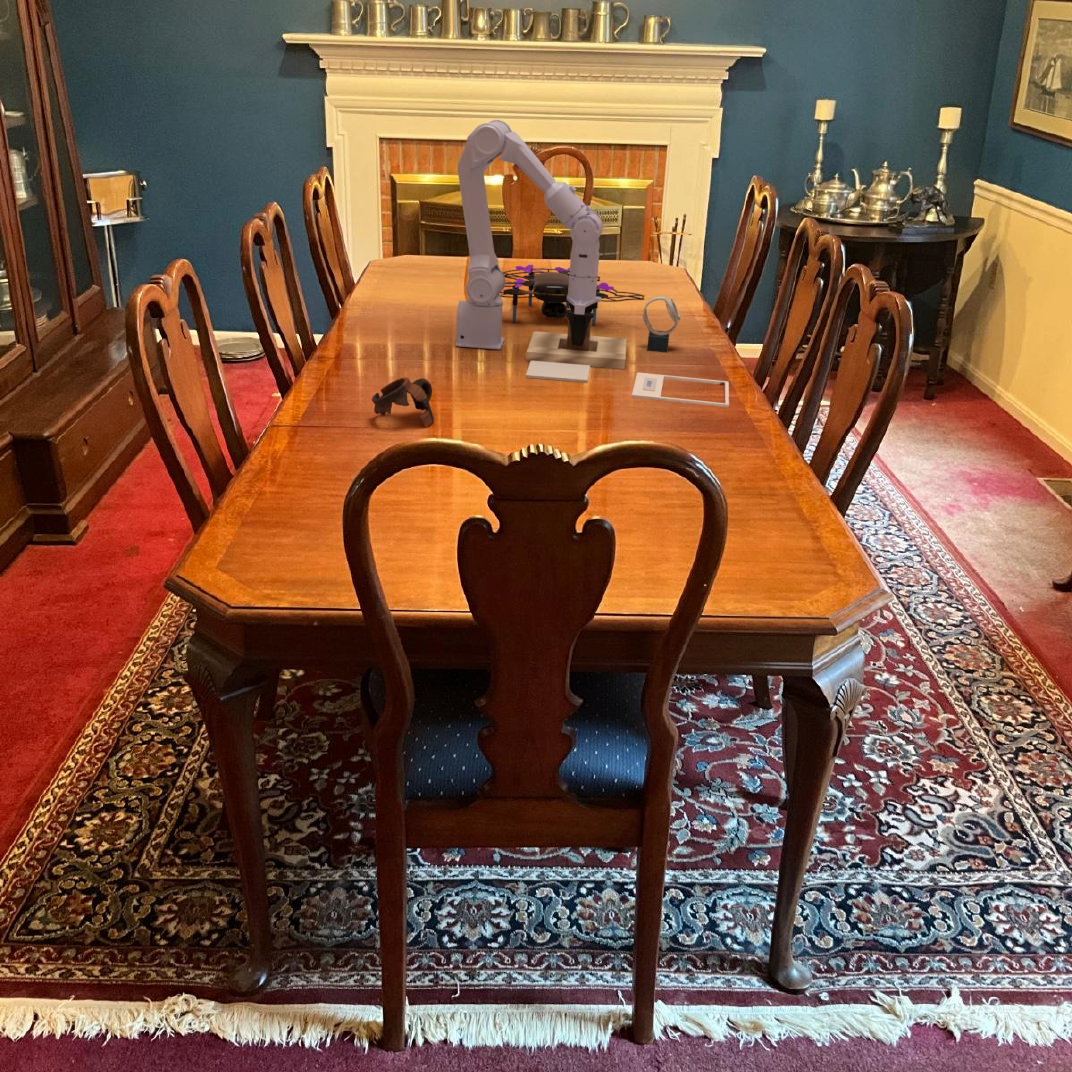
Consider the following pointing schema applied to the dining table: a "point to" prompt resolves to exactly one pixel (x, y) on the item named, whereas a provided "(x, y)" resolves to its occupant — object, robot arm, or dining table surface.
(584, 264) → the robot arm
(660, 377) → the photo frame
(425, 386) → the brown curved piece
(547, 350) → the pocket board
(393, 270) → the dining table surface
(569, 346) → the block
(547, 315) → the drone
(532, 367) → the felt pad
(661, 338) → the watch
